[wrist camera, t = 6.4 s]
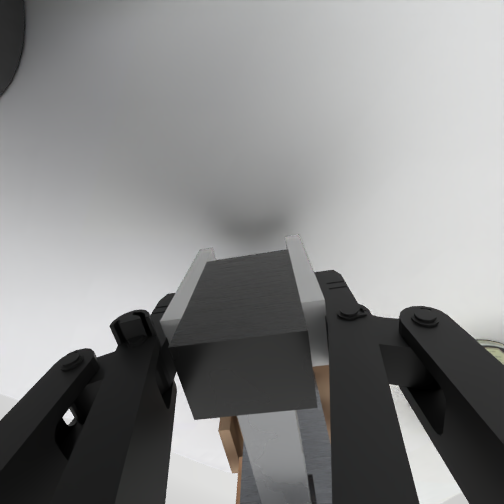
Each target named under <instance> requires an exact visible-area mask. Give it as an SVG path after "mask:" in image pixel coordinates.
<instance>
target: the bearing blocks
mask: <svg viewBox="0 0 504 504" xmlns="http://www.w3.org/2000/svg"><path fill="white" fill-rule="evenodd" d="M313 375H314V383H315V391H316V399H317V407H318V408H312V409H301V410H297V415H298V421H299V427H300V433H301V439H302V445H303V451H304V457H305V463H306V469H307V475H308V481H309V487H310V493H311V499H312V504H332V474H331V444H330V439H329V435H328V431H327V426H326V422H325V417H324V413H323V408H322V404H321V400H320V395H319V391H318V386H317V382H316V378H315V373H314V371H313ZM240 504H262V502H261V499H260V495H259V492H258V488H257V485H256V481H255V478H254V474H253V471H252V467H251V464H250V460H249V456H248V453H247V449H246V446H245V442H244V441H243V457H242V474H241V491H240Z"/></svg>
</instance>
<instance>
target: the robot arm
mask: <svg viewBox="0 0 504 504" xmlns="http://www.w3.org/2000/svg"><path fill="white" fill-rule="evenodd" d="M23 39H24V3H23V0H0V95H1V94H2V93H3V92H4V90H5V89H6V88H7V86H8V85H9V83H10V81H11V79H12V78H13V76H14V73H15V71H16V68H17V66H18V63H19V59H20V56H21V51H22V46H23ZM285 239H286V246H287V249H288V251H289V255H290V259H291V263H292V267H293V271H294V275H295V279H296V284H297V288H298V292H299V296H300V300H301V304H302V308H303V312H304V317H305V321H306V325H307V329H308V335H309V343H310V351H311V359H312V367H314V366H323V365H329V385H330V430H331V474H332V504H419V500H418V496H417V492H416V488H415V485H414V481H413V477H412V473H411V469H410V465H409V461H408V457H407V453H406V449H405V445H404V441H403V437H402V433H401V430H400V426H399V422H398V418H397V414H396V410H395V406H394V402H393V398H392V394H391V390H390V386H389V384H393V385H399V387H400V389H401V391H402V393H403V394H404V396H405V398H406V399H407V401H408V402H409V404H410V406H411V407H412V409H413V411H414V412H415V414H416V416H417V417H418V419H419V421H420V422H421V424H422V426H423V427H424V429H425V431H426V432H427V434H428V436H429V437H430V439H431V441H432V442H433V444H434V446H435V447H436V449H437V451H438V452H439V454H440V456H441V457H442V459H443V461H444V462H445V464H446V466H447V467H448V469H449V471H450V472H451V474H452V476H453V477H454V479H455V480H456V482H457V484H458V485H459V487H460V489H461V490H462V492H463V494H464V495H465V497H466V499H467V500H468V502H469V504H504V365H503V364H502V363H501V362H500V361H499V360H498V359H497V358H495V357H494V356H493V355H492V354H491V353H490V352H489V351H488V350H486V349H485V348H484V347H483V346H482V345H481V344H480V343H478V342H477V341H476V340H475V339H474V338H473V337H472V336H471V335H469V334H468V333H467V332H466V331H465V330H464V329H463V328H461V327H460V326H459V325H458V324H457V323H456V322H455V321H454V320H452V319H451V318H450V317H449V316H448V315H446V314H445V313H443V312H442V311H440V310H437V309H434V308H431V307H425V306H412V307H409V308H405V309H404V310H403V311H401V312H400V316H399V319H394V318H383V317H377V316H374V315H371V313H370V311H369V310H368V308H366V307H365V306H363V305H360V304H358V303H357V301H356V299H355V298H354V296H353V294H352V293H351V291H350V289H349V287H348V286H347V284H346V282H345V281H344V279H343V277H342V276H341V274H339V273H338V272H336V271H334V270H328V271H321V272H314V271H313V268H312V266H311V263H310V261H309V258H308V256H307V253H306V251H305V248H304V246H303V243H302V241H301V238H300V235H299V234H298V235H292V236H285ZM209 261H216V258H215V254H214V249H213V248H208V249H201V250H200V251H199V252H198V254H197V256H196V258H195V259H194V261H193V263H192V265H191V267H190V268H189V270H188V272H187V274H186V275H185V277H184V279H183V281H182V283H181V284H180V286H179V288H178V290H177V292H176V293H171V294H167V295H166V296H165V297H163V298H162V299H161V300H160V301H159V302H158V304H157V306H156V307H155V309H154V310H153V312H152V314H151V315H150V314H149V312H147V311H146V310H134V311H131V312H128V313H125V314H123V315H122V316H120V317H118V318H117V319H115V320H114V321H113V322H112V323H111V325H110V328H111V331H112V333H113V335H114V337H115V340H116V342H117V344H118V347H117V349H116V351H115V352H112V353H109V354H106V355H103V356H100V357H96V355H95V353H94V351H93V350H91V349H86V348H85V349H80V350H76V351H73V352H71V353H69V354H67V355H66V356H64V357H63V358H61V359H60V360H59V361H58V362H57V363H55V364H54V365H53V366H52V367H51V368H50V370H49V371H48V372H47V373H46V374H45V375H44V376H43V377H42V378H41V379H40V380H39V381H38V382H37V383H36V384H35V385H34V386H33V387H32V388H31V389H30V390H29V391H28V392H27V393H26V395H25V396H24V397H23V398H22V399H21V400H20V401H19V402H18V403H17V404H16V405H15V406H14V407H13V408H12V409H11V410H10V411H9V412H8V414H6V415H5V416H4V417H3V418H2V419H1V421H0V504H165V498H166V489H167V479H168V469H169V460H170V451H171V441H172V432H173V422H174V413H175V403H176V394H177V388H176V384H175V381H174V377H175V374H176V372H177V371H176V368H175V365H174V363H173V360H172V357H171V355H170V352H169V349H168V346H169V344H170V342H171V340H172V338H173V335H174V333H175V331H176V329H177V327H178V324H179V322H180V320H181V318H182V316H183V314H184V311H185V309H186V307H187V305H188V302H189V300H190V298H191V296H192V294H193V291H194V289H195V287H196V285H197V282H198V280H199V278H200V276H201V274H202V271H203V269H204V267H205V265H206V263H207V262H209ZM68 409H70V410H71V412H72V414H73V416H74V417H75V418H74V419H73V420H72V422H71V423H70V424H69V425H67V424H66V423H65V421H64V420H63V418H62V417H63V416H64V414H65V413H66V412H67V410H68Z"/></svg>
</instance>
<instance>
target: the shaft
mask: <svg viewBox="0 0 504 504" xmlns="http://www.w3.org/2000/svg"><path fill="white" fill-rule="evenodd" d="M168 349H169V352H170V355H171V357H172V360H173V363H174V365H175V368H176V371H177V374H178V376H179V379H180V382H181V384H182V387H183V390H184V393H185V395H186V398H187V401H188V404H189V406H190V409H191V412H192V414H193V417H194V420H198V419H208V418H218V417H229V416H237V418H238V421H239V425H240V428H241V432H242V435H243V439H244V442H245V446H246V449H247V453H248V456H249V460H250V464H251V467H252V471H253V474H254V478H255V481H256V485H257V488H258V492H259V495H260V499H261V502H262V504H312V499H311V493H310V487H309V481H308V475H307V469H306V463H305V457H304V451H303V445H302V439H301V433H300V427H299V421H298V415H297V410H301V409H312V408H318V407H317V399H316V391H315V383H314V375H313V367H312V359H311V351H310V343H309V335H308V329H307V325H306V321H305V317H304V312H303V308H302V304H301V300H300V296H299V292H298V288H297V284H296V279H295V275H294V271H293V267H292V263H291V259H290V255H289V251H288V249H287V250H281V251H274V252H268V253H261V254H255V255H248V256H242V257H235V258H229V259H222V260H216V261H209V262H207V263H206V265H205V267H204V269H203V271H202V274H201V276H200V278H199V280H198V282H197V285H196V287H195V289H194V291H193V294H192V296H191V298H190V300H189V302H188V305H187V307H186V309H185V311H184V314H183V316H182V318H181V320H180V322H179V324H178V327H177V329H176V331H175V333H174V335H173V338H172V340H171V342H170V344H169V346H168Z"/></svg>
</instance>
